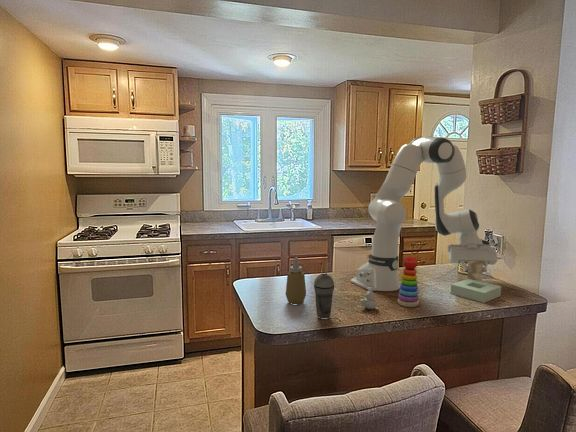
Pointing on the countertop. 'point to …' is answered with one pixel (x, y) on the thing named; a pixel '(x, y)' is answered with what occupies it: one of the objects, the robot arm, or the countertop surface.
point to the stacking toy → (409, 284)
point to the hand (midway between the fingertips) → (475, 271)
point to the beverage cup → (324, 294)
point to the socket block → (476, 290)
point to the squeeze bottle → (295, 284)
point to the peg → (475, 270)
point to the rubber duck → (369, 300)
